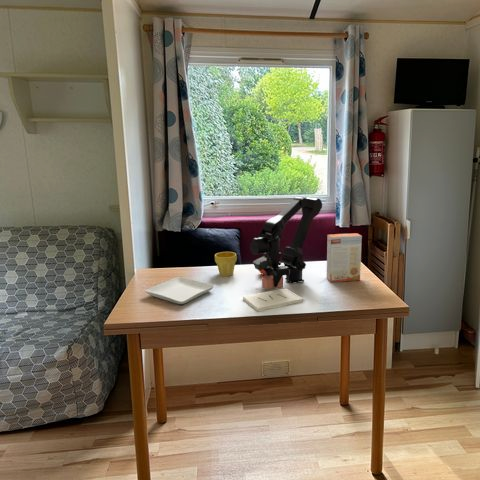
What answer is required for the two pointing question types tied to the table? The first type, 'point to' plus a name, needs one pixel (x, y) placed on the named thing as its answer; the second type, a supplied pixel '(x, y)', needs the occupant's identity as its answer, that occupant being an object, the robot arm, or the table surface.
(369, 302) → the table surface
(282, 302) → the board
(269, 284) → the block
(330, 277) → the cracker box
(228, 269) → the plant pot
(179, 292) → the salad plate
